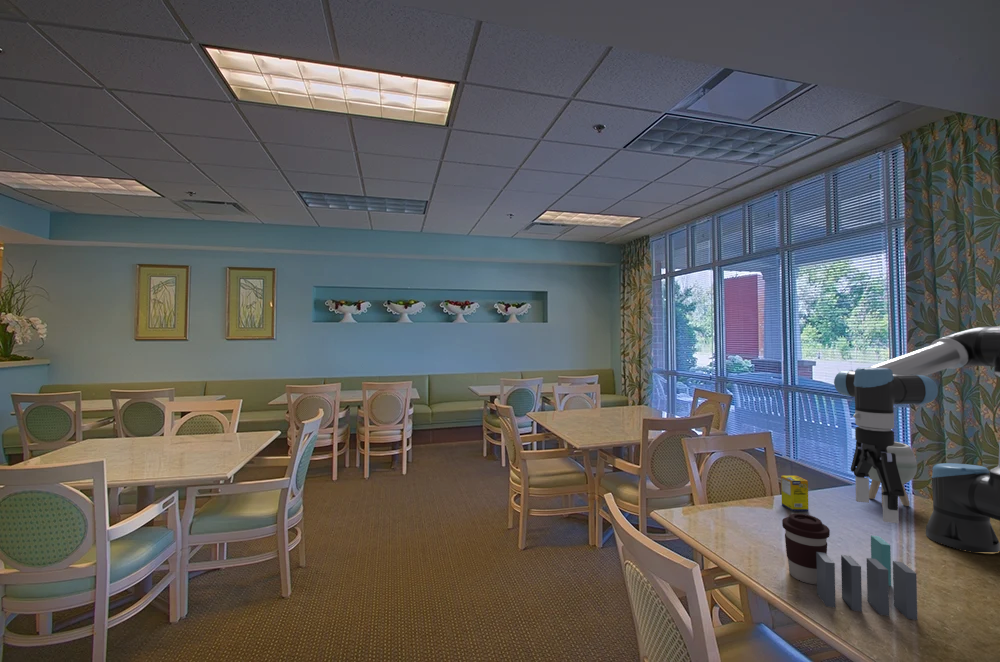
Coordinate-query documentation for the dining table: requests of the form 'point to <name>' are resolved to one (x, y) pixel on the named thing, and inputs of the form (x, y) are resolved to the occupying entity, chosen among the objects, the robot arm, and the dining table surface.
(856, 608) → the domino
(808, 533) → the coffee cup
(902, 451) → the planter
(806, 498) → the supplement box
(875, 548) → the domino
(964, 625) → the dining table surface
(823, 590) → the domino
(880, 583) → the domino
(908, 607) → the domino
